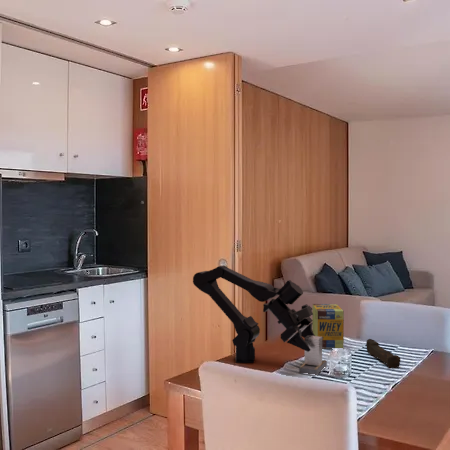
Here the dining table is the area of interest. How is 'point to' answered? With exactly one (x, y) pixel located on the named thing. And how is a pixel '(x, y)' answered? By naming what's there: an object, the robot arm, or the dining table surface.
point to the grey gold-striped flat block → (312, 368)
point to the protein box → (329, 325)
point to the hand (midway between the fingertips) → (313, 347)
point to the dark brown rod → (382, 354)
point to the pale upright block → (313, 350)
